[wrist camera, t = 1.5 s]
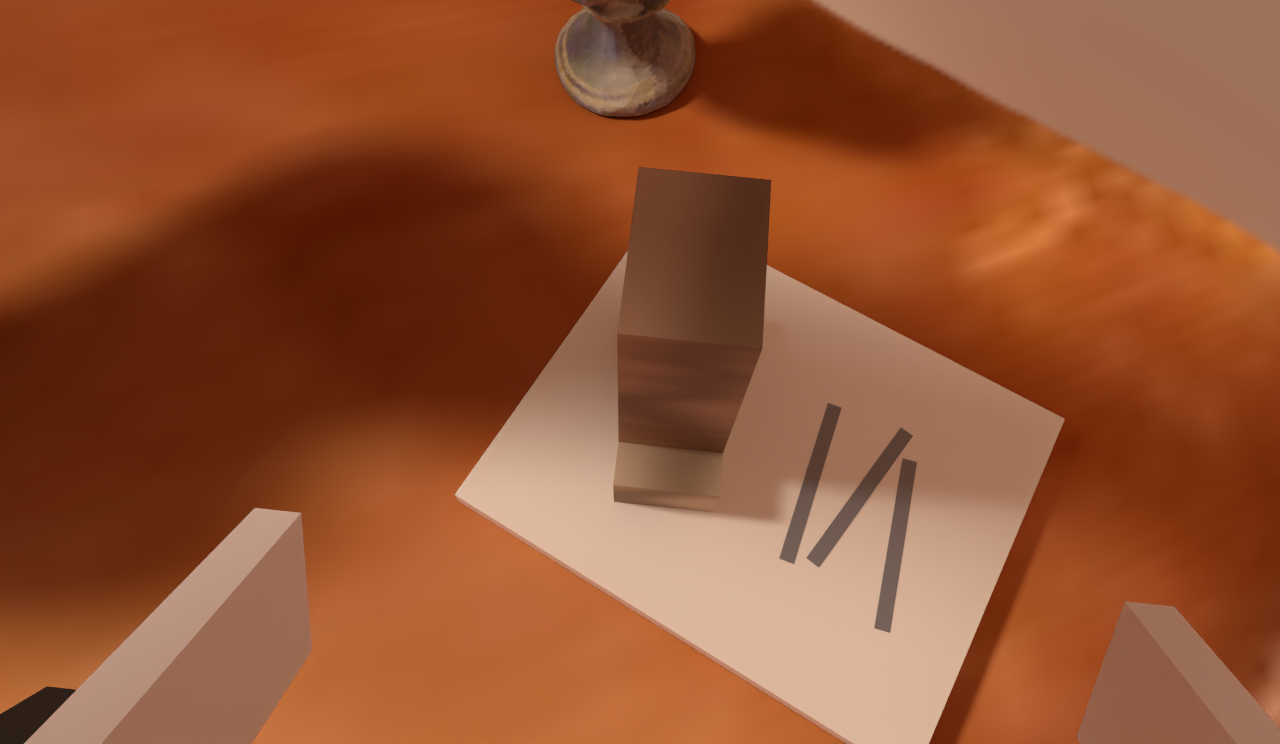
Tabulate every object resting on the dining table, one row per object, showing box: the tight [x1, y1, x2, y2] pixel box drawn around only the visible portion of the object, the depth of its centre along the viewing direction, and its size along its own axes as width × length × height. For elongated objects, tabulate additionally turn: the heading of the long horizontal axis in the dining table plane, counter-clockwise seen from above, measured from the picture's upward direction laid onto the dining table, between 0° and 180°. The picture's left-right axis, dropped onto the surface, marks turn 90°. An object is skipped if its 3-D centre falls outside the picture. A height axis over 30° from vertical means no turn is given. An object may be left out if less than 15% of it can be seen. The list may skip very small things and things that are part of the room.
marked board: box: [455, 251, 1065, 744], centre depth 34 cm, size 20×16×1 cm
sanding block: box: [613, 167, 771, 512], centre depth 29 cm, size 4×9×12 cm, turn 174°
